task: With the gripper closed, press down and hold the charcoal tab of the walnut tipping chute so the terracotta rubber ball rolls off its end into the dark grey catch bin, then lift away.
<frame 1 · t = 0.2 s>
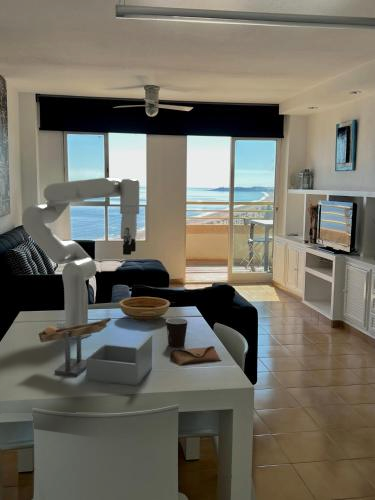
hand: (129, 252, 194), 36 cm above the table, tool pointing down, fingers open, 9 cm apart
chute: (79, 325, 170), point 14 cm above the table, hinge at -15.0°, touching ball
sunglasses case: (196, 361, 179), on the table
coffee mug: (177, 344, 196), on the table
launcher stand: (73, 368, 167), on the table
ball: (50, 331, 167), point 13 cm above the table, tilted 13°, touching chute
catch bin: (120, 373, 163), on the table
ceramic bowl: (144, 319, 232), on the table
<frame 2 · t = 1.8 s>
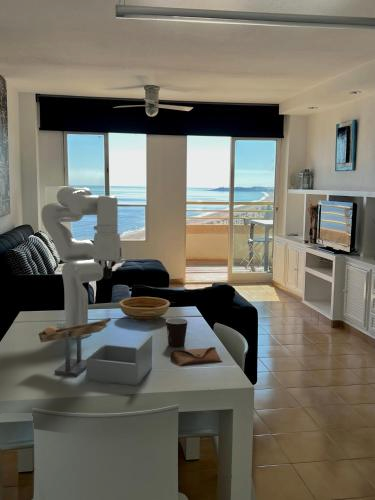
hand: (107, 278, 181), 29 cm above the table, tool pointing down, fingers closed
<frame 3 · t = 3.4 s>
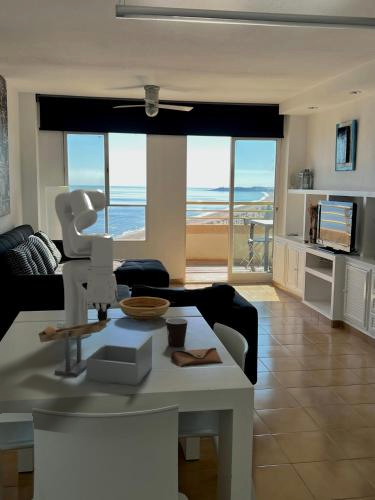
hand: (102, 321, 172), 15 cm above the table, tool pointing down, fingers closed
chute: (79, 325, 170), point 14 cm above the table, hinge at -14.9°, touching ball, gripper
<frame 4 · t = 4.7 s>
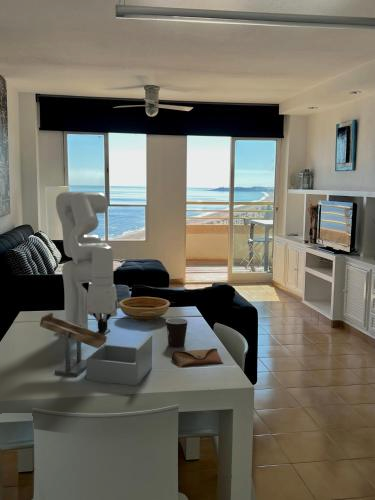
hand: (102, 331, 173), 11 cm above the table, tool pointing down, fingers closed
chute: (80, 326, 170), point 14 cm above the table, hinge at 15.4°, touching gripper
ball: (136, 367, 162), point 3 cm above the table
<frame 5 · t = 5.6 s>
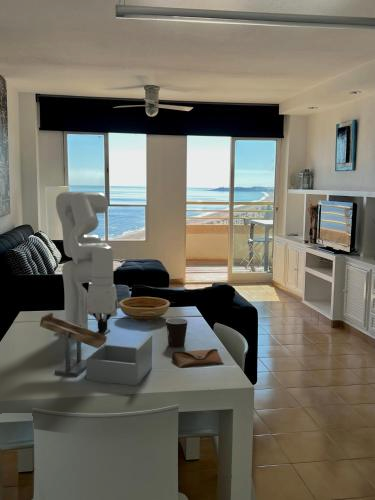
hand: (102, 331, 173), 11 cm above the table, tool pointing down, fingers closed
ball: (132, 368, 162), point 2 cm above the table, tilted 14°, touching catch bin
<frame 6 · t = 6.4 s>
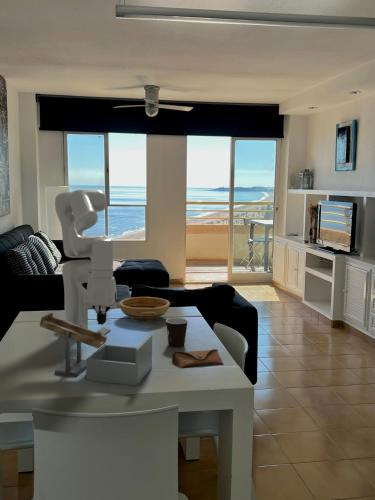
hand: (101, 323, 173), 14 cm above the table, tool pointing down, fingers closed
chute: (80, 326, 170), point 14 cm above the table, hinge at 15.4°
ball: (128, 368, 162), point 2 cm above the table, tilted 49°, touching catch bin
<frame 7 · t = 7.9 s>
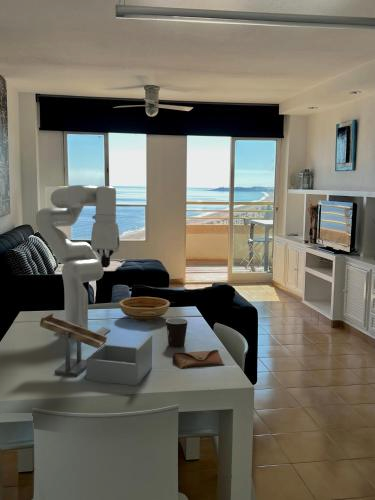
hand: (105, 266, 186), 32 cm above the table, tool pointing down, fingers closed
ball: (123, 367, 163), point 2 cm above the table, tilted 114°, touching catch bin
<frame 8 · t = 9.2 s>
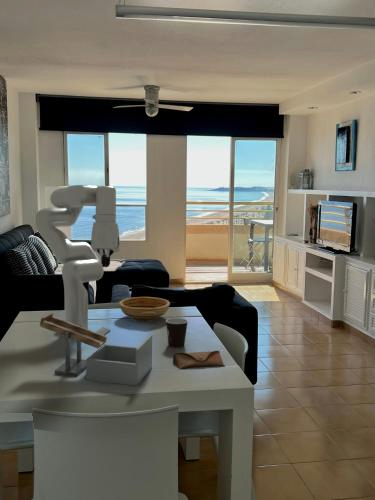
hand: (105, 266, 186), 32 cm above the table, tool pointing down, fingers closed
ball: (118, 366, 163), point 2 cm above the table, tilted 172°, touching catch bin
at the end: ball inside the target area on the catch bin (0.8 cm from its centre), point 2.4 cm above the catch bin's base; ball moved 26.6 cm from its start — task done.
